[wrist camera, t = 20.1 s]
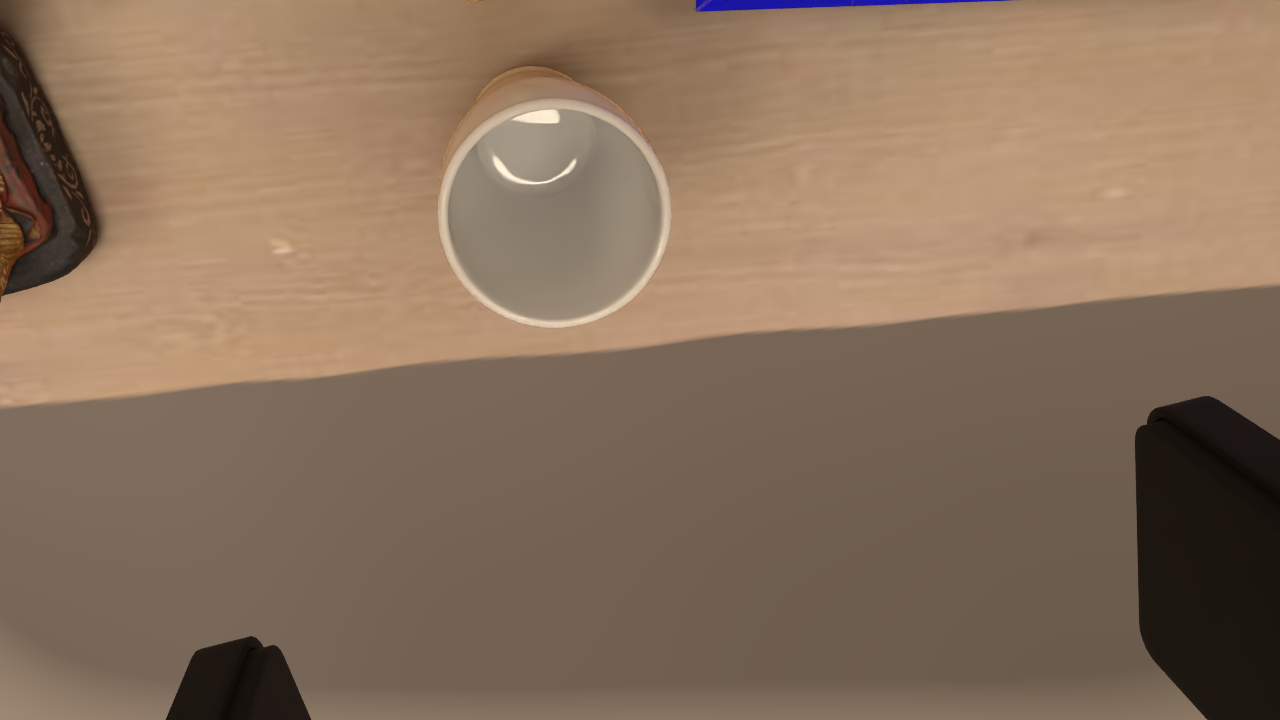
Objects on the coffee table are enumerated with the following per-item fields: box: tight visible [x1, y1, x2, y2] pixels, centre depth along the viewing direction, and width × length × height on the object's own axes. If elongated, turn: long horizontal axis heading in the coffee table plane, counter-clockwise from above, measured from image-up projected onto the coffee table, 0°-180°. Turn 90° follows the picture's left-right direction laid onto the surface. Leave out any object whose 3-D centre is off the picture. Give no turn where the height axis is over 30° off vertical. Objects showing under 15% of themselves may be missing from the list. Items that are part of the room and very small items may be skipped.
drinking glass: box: [437, 66, 672, 328], centre depth 36 cm, size 7×7×15 cm
